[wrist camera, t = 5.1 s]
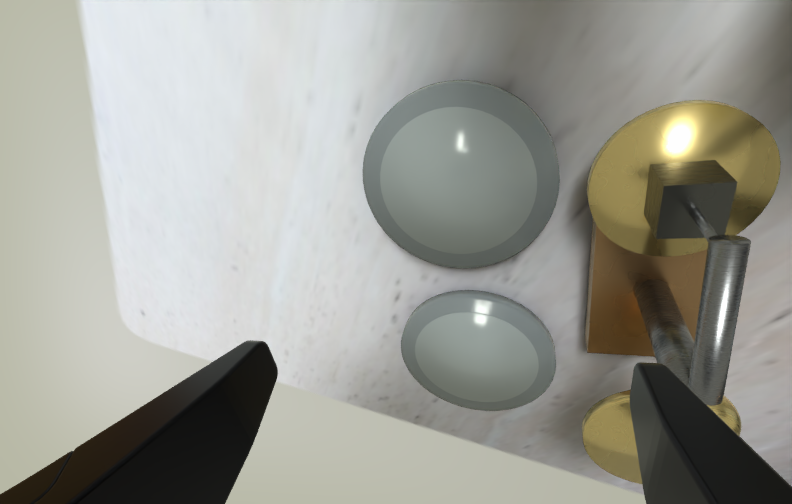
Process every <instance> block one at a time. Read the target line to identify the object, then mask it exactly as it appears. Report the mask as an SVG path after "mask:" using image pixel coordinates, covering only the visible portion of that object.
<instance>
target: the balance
mask: <svg viewBox="0 0 792 504" xmlns="http://www.w3.org/2000/svg"><path fill="white" fill-rule="evenodd" d="M779 175H780V156H779V150H778V148H777V145H776V142H775V140H774V139H773V137H772V135H771V134H770V132H769V131H768V130H767V129H766V128H765V127H764V125H763V124H761V123H760V122H759V121H758V120H756V119H755V118H754V117H752V116H750V115H749V114H747V113H745V112H743V111H742V110H740V109H738V108H736V107H733V106H730V105H728V104H725V103H720V102H715V101H705V100H692V101H682V102H676V103H671V104H667V105H664V106H660V107H658V108H655V109H652V110H650V111H647V112H645V113H644V114H642V115H640V116H638V117H636V118H634V119H633V120H631V121H630V122H628V123H627V124H625V125H624V126H623V127H622V128H620V129H619V130H618V131H617V132H615V133H614V134H613V136H612V137H611V138H610V139H609V140H608V141H607V142H606V143H605V144H604V146H603V147H602V148H601V150H600V151H599V153H598V155H597V156H596V158H595V160H594V162H593V164H592V167H591V169H590V173H589V177H588V183H587V197H588V202H589V207H590V211H591V213H592V216H593V222H592V237H591V253H590V268H589V284H588V299H587V315H586V330H585V340H586V346H587V353H604V354H621V355H637V356H654V357H656V360H657V363H659V364H663V365H665V366H667V367H668V368H669V369H670V370H671V371H672V372H673V373H674V374H675V375H676V376H677V377H678V378H679V379H680V380H681V381H682V382H683V383H684V384H685V385H687V386H688V387H689V388H690V389H691V390H692V391H693V392H694V393H695V394H696V395H697V396H698V397H699V398H700V399H701V400H702V401H703V402H704V403H705V404H706V405H707V406H708V407H709V408H710V409H711V410H713V411H714V412H715V413H716V414H717V415H718V416H719V417H720V418H721V419H722V420H723V421H724V422H725V423H726V424H727V425H728V426H729V427H730V428H731V429H732V430H733V431H734V432H735V433H736V434H737V435H739V436H740V432H741V420H740V416H739V414H738V412H737V410H736V408H735V407H734V405H733V404H732V403H731V402H730V401H729V400H728V399H727V398H726V397H725V396H724V390H725V385H726V379H727V373H728V368H729V362H730V356H731V351H732V345H733V340H734V334H735V328H736V323H737V317H738V312H739V306H740V300H741V295H742V289H743V284H744V278H745V272H746V267H747V261H748V255H749V250H750V244H751V241H750V240H749V239H747V238H744V237H740V236H735V235H737V234H738V233H740V232H741V231H742V230H744V229H745V228H746V227H747V226H749V225H750V224H751V223H752V222H753V221H754V220H755V219H756V218H757V217H758V216H759V215H760V214H761V213H762V211H763V210H764V208H765V207H766V206H767V204H768V203H769V201H770V199H771V198H772V196H773V194H774V192H775V189H776V186H777V184H778V180H779ZM630 391H631V390H628V391H623V392H620V393H616V394H613V395H611V396H609V397H606V398H604V399H603V400H601V401H599V402H598V403H596V404H595V405H594V406H593V407H592V408H591V409H590V410H589V411H588V412H587V414H586V415H585V417H584V419H583V423H582V435H583V443H584V447H585V450H586V452H587V454H588V455H589V456H590V458H591V459H592V460H593V461H594V462H595V463H596V464H597V465H599V466H600V467H601V468H603V469H604V470H606V471H607V472H609V473H611V474H613V475H615V476H617V477H620V478H622V479H625V480H628V481H631V482H635V483H639V484H642V478H641V472H640V466H639V460H638V454H637V447H636V441H635V435H634V429H633V423H632V417H631V411H630Z"/></svg>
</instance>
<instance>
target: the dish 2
mask: <svg viewBox="0 0 792 504" xmlns="http://www.w3.org/2000/svg"><path fill="white" fill-rule="evenodd" d="M401 351H402V356H403V359H404V362H405V364H406V366H407V368H408V370H409V371H410V373H411V374H412V375H413V377H414V378H415V379H416V380H417V381H418V382H419V383H420V384H421V385H422V386H423V387H424V388H426V389H427V390H428V391H430V392H431V393H433V394H434V395H436V396H437V397H439V398H441V399H443V400H445V401H448V402H450V403H452V404H455V405H458V406H461V407H465V408H470V409H476V410H485V411H499V410H508V409H512V408H517V407H520V406H523V405H525V404H527V403H530V402H532V401H533V400H535V399H536V398H538V397H539V396H540V395H542V394H543V393H544V392H545V391H546V389H547V388H548V387H549V386H550V384H551V382H552V380H553V377H554V374H555V368H556V360H555V347H554V343H553V339H552V337H551V335H550V333H549V331H548V330H547V328H546V327H545V325H544V324H543V323H542V322H541V320H540V319H539V318H538V317H537V316H536V315H535V314H533V313H532V312H531V311H530V310H528V309H527V308H525V307H524V306H522V305H521V304H519V303H517V302H515V301H513V300H511V299H509V298H506V297H504V296H501V295H497V294H494V293H489V292H484V291H474V290H460V291H452V292H447V293H443V294H440V295H437V296H435V297H432V298H430V299H429V300H427V301H425V302H423V303H422V304H421V305H420V306H418V307H417V308H416V309H415V311H414V312H413V313H412V314H411V316H410V317H409V319H408V321H407V324H406V326H405V329H404V332H403V335H402V340H401Z"/></svg>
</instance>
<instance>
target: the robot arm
mask: <svg viewBox="0 0 792 504" xmlns="http://www.w3.org/2000/svg"><path fill="white" fill-rule="evenodd" d="M277 375H278V370H277V366H276V363H275V361H274V359H273V356H272V354H271V352H270V349H269V347H268V345H267V344H266V343H265V342H263V341H251V340H250V341H246V342H244V343H242V344H241V345H239V346H237V347H236V348H234V349H233V350H231V351H229V352H228V353H226V354H225V355H223V356H222V357H220V358H218V359H217V360H215V361H214V362H212V363H210V364H209V365H207V366H206V367H204V368H202V369H201V370H199V371H198V372H196V373H194V374H193V375H191V376H190V377H188V378H187V379H185V380H183V381H182V382H180V383H179V384H177V385H175V386H174V387H172V388H171V389H169V390H168V391H166V392H164V393H163V394H161V395H160V396H158V397H156V398H155V399H153V400H152V401H150V402H148V403H147V404H145V405H144V406H142V407H140V408H139V409H137V410H136V411H134V412H133V413H131V414H129V415H128V416H126V417H125V418H123V419H121V420H120V421H118V422H117V423H115V424H113V425H112V426H110V427H109V428H107V429H106V430H104V431H102V432H101V433H99V434H98V435H96V436H94V437H93V438H91V439H90V440H88V441H86V442H85V443H84V444H82V445H80V446H79V447H77V448H76V449H75V450H74V451H71V452H69V453H67V454H66V455H64V456H62V457H61V458H59V459H58V460H56V461H55V462H53V463H51V464H50V465H48V466H47V467H45V468H43V469H42V470H40V471H39V472H37V473H35V474H34V475H32V476H30V477H29V478H27V479H25V480H24V481H22V482H20V483H19V484H17V485H16V486H14V487H12V488H11V489H9V490H7V491H5V492H4V493H2V494H0V504H225V503H226V500H227V498H228V496H229V494H230V492H231V490H232V488H233V486H234V484H235V481H236V479H237V477H238V475H239V473H240V471H241V469H242V467H243V464H244V462H245V460H246V458H247V456H248V454H249V451H250V449H251V447H252V445H253V442H254V440H255V437H256V435H257V432H258V429H259V427H260V424H261V421H262V418H263V416H264V413H265V410H266V407H267V405H268V402H269V399H270V396H271V393H272V391H273V388H274V385H275V382H276V379H277ZM630 411H631V417H632V423H633V429H634V435H635V441H636V447H637V454H638V460H639V466H640V472H641V478H642V484H643V489H644V495H645V500H646V504H792V486H790V485H789V484H788V483H787V482H786V481H785V480H784V479H783V478H782V477H781V476H780V475H779V474H778V473H777V472H776V471H775V470H774V469H773V468H772V467H771V466H770V465H769V464H768V463H767V462H766V461H765V460H763V459H762V458H761V457H760V456H759V455H758V454H757V453H756V452H755V451H754V450H753V449H752V448H751V447H750V446H749V445H748V444H747V443H746V442H745V441H744V440H743V439H742V438H741V437H740V436H739V435H737V434H736V433H735V432H734V431H733V430H732V429H731V428H730V427H729V426H728V425H727V424H726V423H725V422H724V421H723V420H722V419H721V418H720V417H719V416H718V415H717V414H716V413H715V412H714V411H713V410H711V409H710V408H709V407H708V406H707V405H706V404H705V403H704V402H703V401H702V400H701V399H700V398H699V397H698V396H697V395H696V394H695V393H694V392H693V391H692V390H691V389H690V388H689V387H688V386H687V385H685V384H684V383H683V382H682V381H681V380H680V379H679V378H678V377H677V376H676V375H675V374H674V373H673V372H672V371H671V370H670V369H669V368H668V367H667V366H665V365H663V364H659V363H637V364H636V365H635V367H634V372H633V378H632V384H631V391H630Z"/></svg>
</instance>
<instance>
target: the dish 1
mask: <svg viewBox="0 0 792 504" xmlns="http://www.w3.org/2000/svg"><path fill="white" fill-rule="evenodd" d="M363 184H364V190H365V194H366V198H367V201H368V204H369V206H370V209H371V211H372V213H373V215H374V217H375V218H376V220H377V222H378V223H379V225H380V226H381V227H382V229H383V230H384V231H385V232H386V234H387V235H388V236H389V237H390V238H391V239H392V240H393V241H394V242H396V243H397V244H398V245H399V246H400V247H402V248H403V249H405V250H406V251H408V252H409V253H411V254H413V255H415V256H416V257H418V258H420V259H423V260H425V261H428V262H430V263H434V264H438V265H441V266H447V267H454V268H475V267H482V266H487V265H491V264H494V263H498V262H500V261H503V260H505V259H507V258H510V257H511V256H513V255H515V254H517V253H518V252H520V251H521V250H523V249H524V248H525V247H527V246H528V245H529V244H530V243H531V242H532V241H533V240H534V239H535V238H536V237H537V236H538V235H539V234H540V232H541V231H542V230H543V229H544V227H545V226H546V224H547V222H548V221H549V219H550V217H551V215H552V212H553V210H554V207H555V205H556V201H557V197H558V191H559V166H558V159H557V155H556V150H555V146H554V144H553V141H552V138H551V136H550V134H549V132H548V130H547V128H546V127H545V125H544V123H543V122H542V121H541V119H540V118H539V117H538V115H537V114H536V113H535V112H534V111H533V110H532V109H531V108H530V107H529V106H528V105H527V104H526V103H524V102H523V101H522V100H520V99H519V98H518V97H516V96H515V95H513V94H511V93H509V92H507V91H506V90H504V89H502V88H499V87H496V86H493V85H491V84H487V83H483V82H478V81H470V80H452V81H444V82H439V83H434V84H431V85H429V86H426V87H423V88H420V89H419V90H417V91H415V92H413V93H411V94H409V95H408V96H406V97H405V98H404V99H402V100H401V101H400V102H398V103H397V104H396V105H395V106H394V107H393V108H392V109H391V110H390V111H389V112H388V113H387V114H386V115H385V116H384V117H383V118H382V120H381V121H380V122H379V123H378V125H377V126H376V128H375V130H374V132H373V133H372V135H371V137H370V140H369V142H368V145H367V148H366V152H365V156H364V162H363Z"/></svg>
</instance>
